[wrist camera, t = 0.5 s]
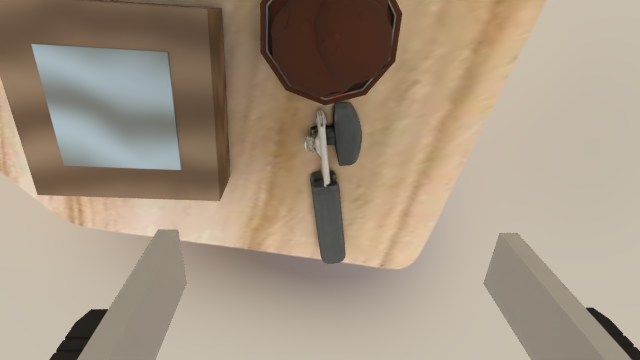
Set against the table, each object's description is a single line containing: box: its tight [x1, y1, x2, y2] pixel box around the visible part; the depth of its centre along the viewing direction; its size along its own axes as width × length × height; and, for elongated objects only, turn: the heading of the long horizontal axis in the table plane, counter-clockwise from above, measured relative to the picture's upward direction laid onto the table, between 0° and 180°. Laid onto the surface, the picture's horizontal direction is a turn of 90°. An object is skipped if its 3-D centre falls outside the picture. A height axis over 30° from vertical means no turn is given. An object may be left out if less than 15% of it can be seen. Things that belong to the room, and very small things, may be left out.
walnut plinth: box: [0, 0, 230, 201], centre depth 36 cm, size 18×18×6 cm
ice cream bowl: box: [260, 0, 402, 105], centre depth 29 cm, size 11×11×15 cm
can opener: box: [304, 102, 362, 264], centre depth 42 cm, size 19×6×5 cm, turn 2°
